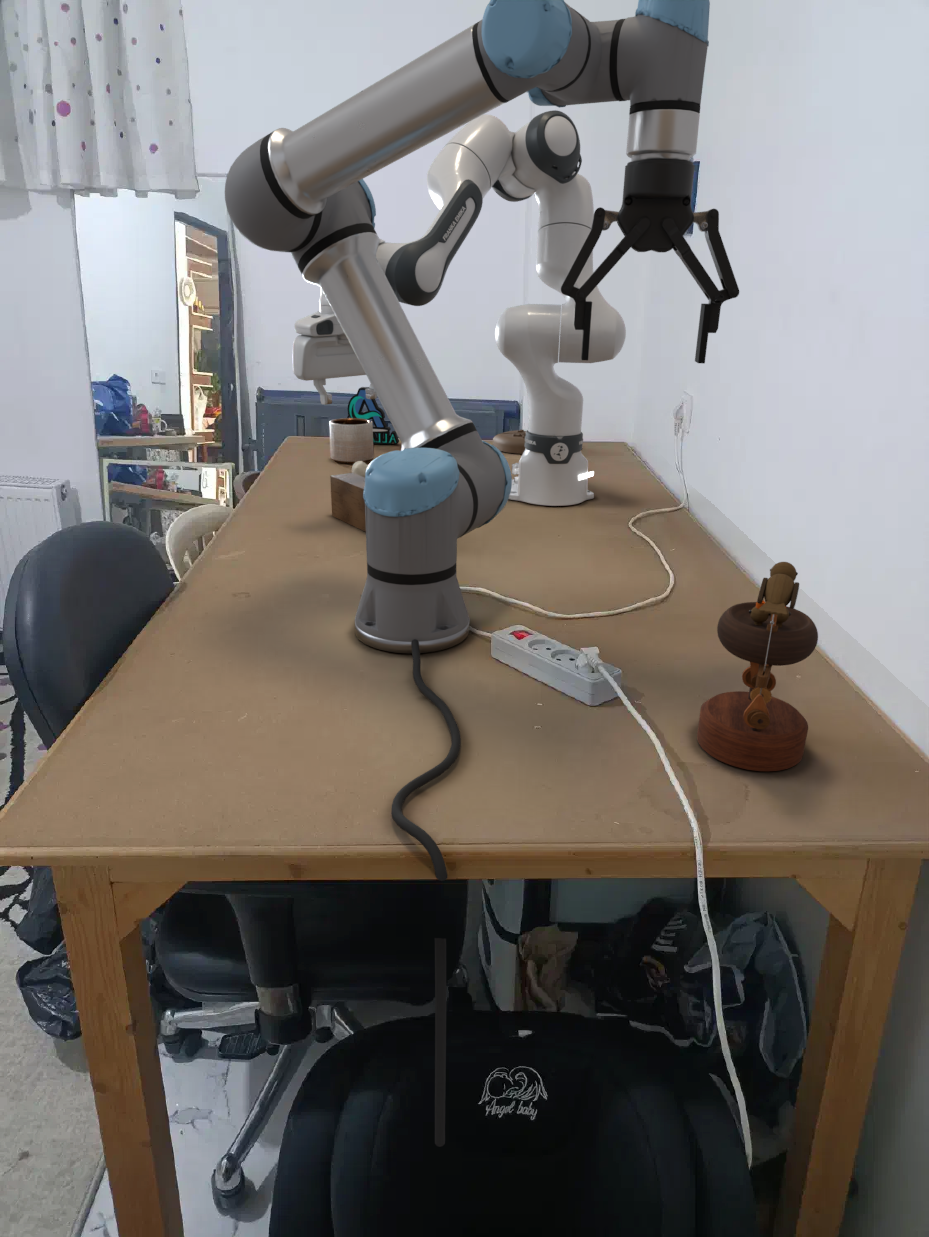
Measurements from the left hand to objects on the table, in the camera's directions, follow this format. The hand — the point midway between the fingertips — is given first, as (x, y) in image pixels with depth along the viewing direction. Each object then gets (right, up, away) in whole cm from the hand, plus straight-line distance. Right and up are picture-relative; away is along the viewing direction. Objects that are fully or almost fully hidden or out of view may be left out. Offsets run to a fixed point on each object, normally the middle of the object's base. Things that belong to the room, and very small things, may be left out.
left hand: (641, 361), depth 101 cm
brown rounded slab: (-3, +13, +125) cm, 126 cm away
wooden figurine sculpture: (+8, -44, -13) cm, 46 cm away
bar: (-37, -15, +55) cm, 68 cm away
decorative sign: (-49, +18, +134) cm, 144 cm away
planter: (-50, +9, +113) cm, 124 cm away
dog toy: (-37, 0, +90) cm, 97 cm away
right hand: (-42, +9, +54) cm, 69 cm away
